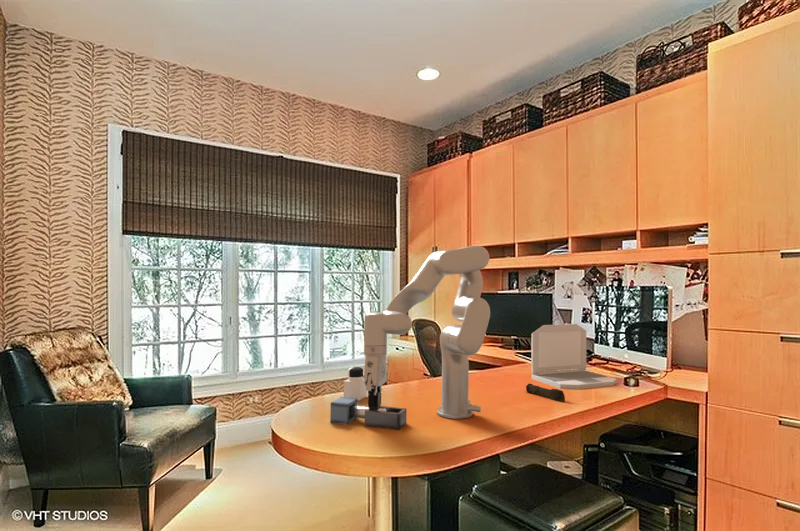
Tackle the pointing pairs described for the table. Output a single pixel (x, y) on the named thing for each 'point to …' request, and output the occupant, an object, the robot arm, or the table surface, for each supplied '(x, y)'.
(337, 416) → the socket block
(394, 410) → the sleeve
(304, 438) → the table surface
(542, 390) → the hand tool
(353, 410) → the sliding bolt
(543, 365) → the laptop
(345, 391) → the medicine bottle
